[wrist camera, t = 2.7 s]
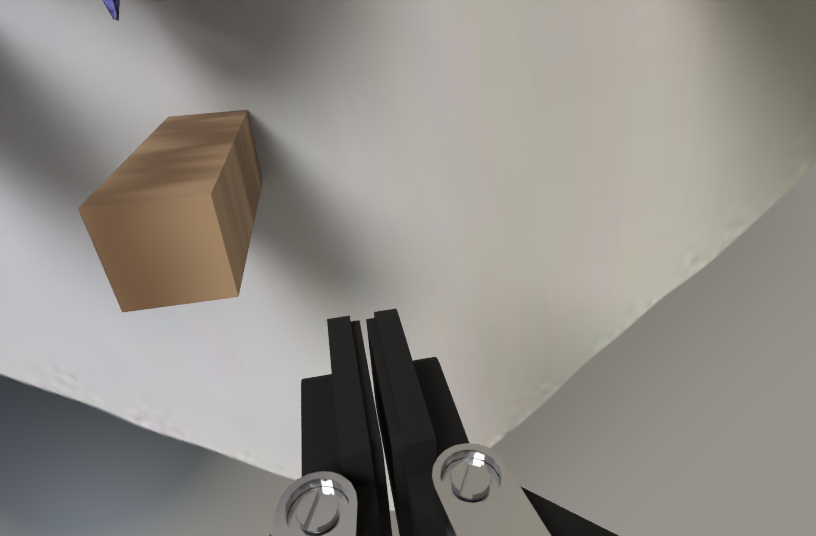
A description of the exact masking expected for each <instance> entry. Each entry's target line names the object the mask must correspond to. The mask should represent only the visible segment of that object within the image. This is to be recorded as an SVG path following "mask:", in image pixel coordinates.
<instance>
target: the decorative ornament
mask: <svg viewBox="0 0 816 536" xmlns="http://www.w3.org/2000/svg"><path fill="white" fill-rule="evenodd" d="M103 2H104V3H105V5H106V7H107V9H108V10H109V12H110V14H111V16H112V17H113V19H115V20H118V21H119V4H120V0H103Z"/></svg>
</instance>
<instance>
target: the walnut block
mask: <svg viewBox="0 0 816 536" xmlns="http://www.w3.org/2000/svg"><path fill="white" fill-rule="evenodd" d="M261 186H262V177H261V173H260V168H259V163H258V158H257V153H256V149H255V144H254V139H253V134H252V130H251V125H250V120H249V115H248V111H247V110H242V111H230V112H219V113H207V114H196V115H184V116H173V117H168V118H167V119H166V120H165V121H164V122H163V123H162V124H161V125H160V126H159V127H158V128H157V129H156V130H155V131H154V132H153V133H152V134H151V135H150V136H149V137H148V138H147V139H146V140H145V141H144V142H143V143H142V144H141V145H140V146H139V147H138V148H137V149H136V150H135V151H134V152H133V153H132V154H131V155H130V156H129V157H128V158H127V159H126V160H125V162H124V163H123V164H122V165H121V166H120V167H119V168H118V169H117V170H116V171H115V172H114V173H113V174H112V175H111V176H110V177H109V178H108V179H107V180H106V181H105V182H104V183H103V184H102V185H101V186H100V187H99V188H98V189H97V190H96V191H95V192H94V193H93V194H92V195H91V196H90V197H89V198H88V199H87V200H86V201H85V202H84V203H83V204H82V205H81V206H80V207H79V208H78V209H79V212H80V214H81V216H82V219H83V221H84V223H85V226H86V228H87V231H88V233H89V235H90V238H91V240H92V242H93V245H94V247H95V249H96V252H97V254H98V256H99V259H100V261H101V263H102V266H103V268H104V270H105V273H106V275H107V277H108V280H109V282H110V284H111V287H112V289H113V292H114V294H115V296H116V299H117V301H118V303H119V306H120V308H121V310H122V312H128V311H136V310H143V309H151V308H158V307H166V306H173V305H180V304H188V303H195V302H203V301H210V300H218V299H225V298H232V297H238V296H239V292H240V287H241V282H242V277H243V272H244V267H245V263H246V258H247V253H248V248H249V243H250V239H251V234H252V229H253V224H254V219H255V215H256V210H257V205H258V200H259V195H260V190H261Z"/></svg>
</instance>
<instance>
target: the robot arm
mask: <svg viewBox="0 0 816 536" xmlns="http://www.w3.org/2000/svg"><path fill="white" fill-rule="evenodd" d="M366 322H367V331H368V340H369V349H370V358H371V367H372V375H373V384H374V393H375V402H376V408H375V403H374V397H373V392H372V387H371V381H370V376H369V370H368V365H367V359H366V354H365V348H364V343H363V337H362V332H361V326H360V321H359V320H358V321H352V322H351V321H350V316H345V317H338V318H331V319H327V323H328V335H329V346H330V358H331V369H332V374H330V375H324V376H318V377H312V378H306V379H302V381H301V429H302V477H301V478H299V479H297V480H296V481H295V482H294V483H293V484H291V485H290V486H289V487H288V488H287V489H286V491H285V492H284V493H283V495H282V496H281V498H280V500H279V503H278V506H277V508H276V513H275V518H274V523H273V528H272V533H271V535H270V536H392V530H391V520H390V511H389V501H388V492H387V483H386V474H385V465H384V456H383V449H382V442H383V447H384V453H385V458H386V464H387V469H388V474H389V480H390V485H391V491H392V496H393V501H394V507H395V512H396V518H397V523H398V529H399V534H400V536H618V535H616V534H614V533H612V532H610V531H608V530H606V529H604V528H602V527H600V526H598V525H596V524H594V523H592V522H590V521H588V520H586V519H584V518H582V517H580V516H578V515H576V514H574V513H572V512H570V511H568V510H566V509H564V508H562V507H560V506H558V505H556V504H554V503H552V502H550V501H548V500H546V499H544V498H542V497H540V496H538V495H536V494H534V493H532V492H530V491H528V490H526V489H524V488H522V487H520V485H519V484H518V482H517V481H516V479H515V477H514V476H513V474H512V473H511V471H510V469H509V468H508V466H507V465H506V463H505V462H504V461H503V459H502V458H501V457H500V456H499V455H498V454H497V453H495V452H494V451H492V450H491V449H489V448H487V447H484V446H482V445H479V444H469V441H468V438H467V436H466V433H465V430H464V428H463V425H462V422H461V420H460V417H459V414H458V411H457V409H456V406H455V403H454V401H453V398H452V395H451V393H450V390H449V387H448V385H447V382H446V379H445V377H444V374H443V371H442V369H441V366H440V363H439V361H438V359H437V358H436V357H432V358H426V359H420V360H414V361H412V358H411V354H410V351H409V348H408V344H407V341H406V338H405V335H404V331H403V328H402V325H401V321H400V318H399V315H398V312H397V309H391V310H384V311H378V312H374V318H371V319H366ZM376 409H377V414H376ZM377 415H378V419H377ZM378 420H379V425H378ZM379 426H380V430H379ZM380 431H381V436H380ZM381 437H382V442H381Z"/></svg>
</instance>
